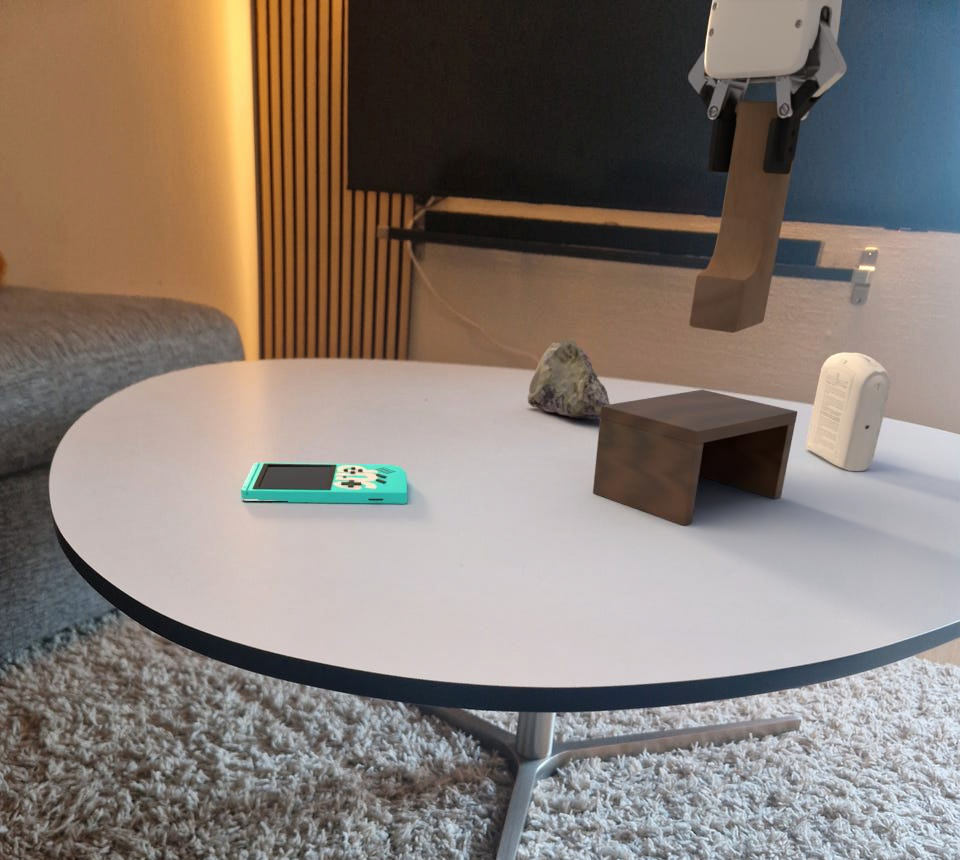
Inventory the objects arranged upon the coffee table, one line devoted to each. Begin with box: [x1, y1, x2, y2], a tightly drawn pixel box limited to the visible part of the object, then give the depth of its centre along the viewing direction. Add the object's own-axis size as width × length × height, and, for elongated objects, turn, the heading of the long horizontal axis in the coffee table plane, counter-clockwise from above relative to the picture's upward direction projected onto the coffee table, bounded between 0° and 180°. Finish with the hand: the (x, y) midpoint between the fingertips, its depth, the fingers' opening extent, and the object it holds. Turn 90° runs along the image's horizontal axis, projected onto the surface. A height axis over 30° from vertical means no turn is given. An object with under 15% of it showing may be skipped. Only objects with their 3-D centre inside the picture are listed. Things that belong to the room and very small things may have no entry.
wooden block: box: [688, 100, 802, 334], centre depth 82 cm, size 9×4×18 cm, turn 149°
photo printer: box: [805, 352, 892, 472], centre depth 109 cm, size 10×4×12 cm, turn 10°
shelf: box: [592, 389, 798, 526], centre depth 94 cm, size 12×16×9 cm
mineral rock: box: [527, 338, 611, 420], centre depth 124 cm, size 13×11×10 cm
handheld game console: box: [240, 461, 408, 505], centre depth 94 cm, size 10×16×1 cm, turn 95°
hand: (748, 170), depth 80 cm, fingers closed on wooden block, 4 cm apart
